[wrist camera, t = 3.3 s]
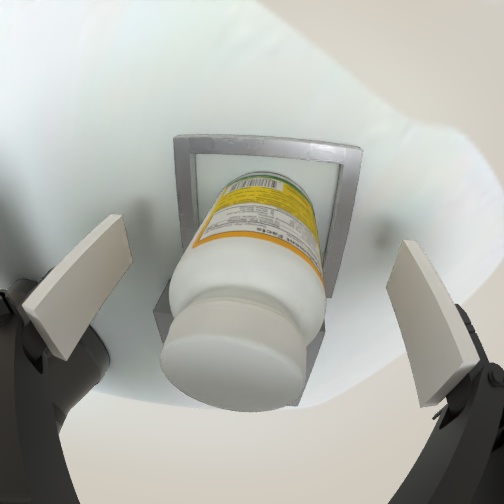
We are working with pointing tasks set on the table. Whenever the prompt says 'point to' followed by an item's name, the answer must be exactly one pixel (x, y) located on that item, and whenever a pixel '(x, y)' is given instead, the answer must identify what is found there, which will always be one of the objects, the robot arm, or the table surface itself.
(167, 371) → the supplement bottle
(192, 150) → the socket collar
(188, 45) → the table surface
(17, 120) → the table surface
